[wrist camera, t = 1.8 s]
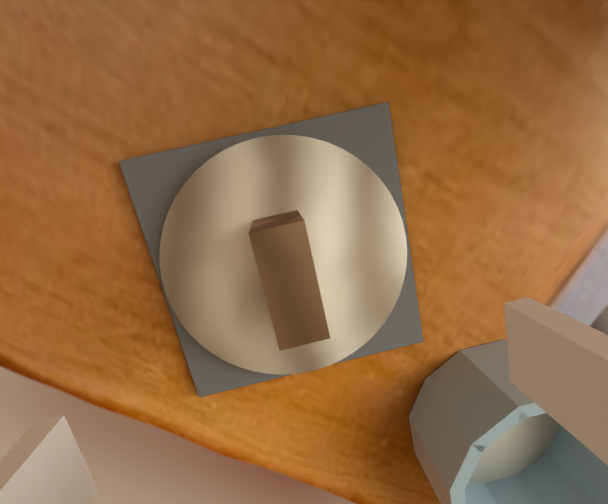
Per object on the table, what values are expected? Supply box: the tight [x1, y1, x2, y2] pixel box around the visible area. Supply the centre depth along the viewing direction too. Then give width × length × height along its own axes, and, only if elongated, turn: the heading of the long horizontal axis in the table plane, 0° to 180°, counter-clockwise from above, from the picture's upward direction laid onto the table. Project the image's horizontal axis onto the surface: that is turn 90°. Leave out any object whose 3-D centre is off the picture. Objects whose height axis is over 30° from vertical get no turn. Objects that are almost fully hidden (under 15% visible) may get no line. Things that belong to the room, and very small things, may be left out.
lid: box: [160, 135, 407, 375], centre depth 22 cm, size 17×17×6 cm
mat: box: [119, 102, 423, 397], centre depth 25 cm, size 18×18×1 cm
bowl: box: [408, 340, 608, 504], centre depth 27 cm, size 14×14×7 cm
